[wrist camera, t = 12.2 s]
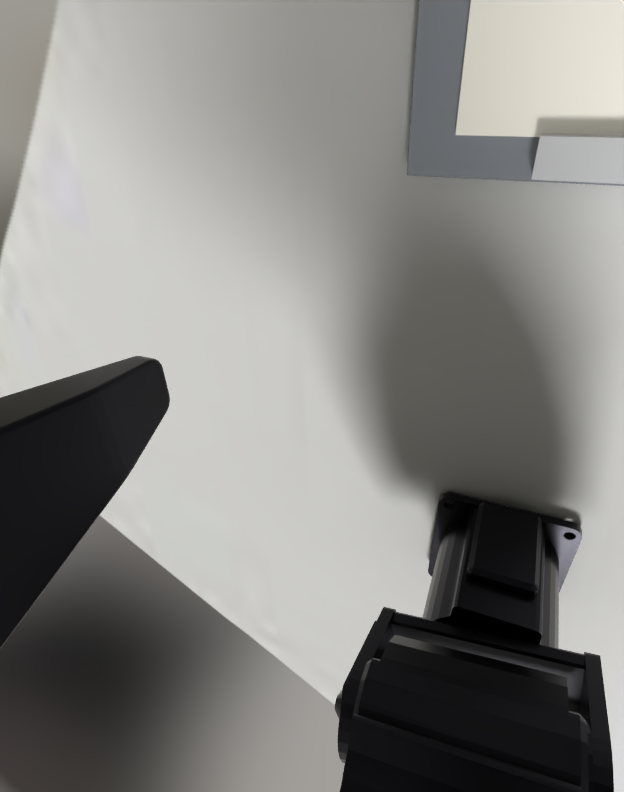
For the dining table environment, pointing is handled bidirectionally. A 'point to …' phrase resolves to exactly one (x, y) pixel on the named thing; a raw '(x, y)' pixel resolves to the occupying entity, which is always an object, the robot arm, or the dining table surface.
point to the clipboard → (519, 91)
